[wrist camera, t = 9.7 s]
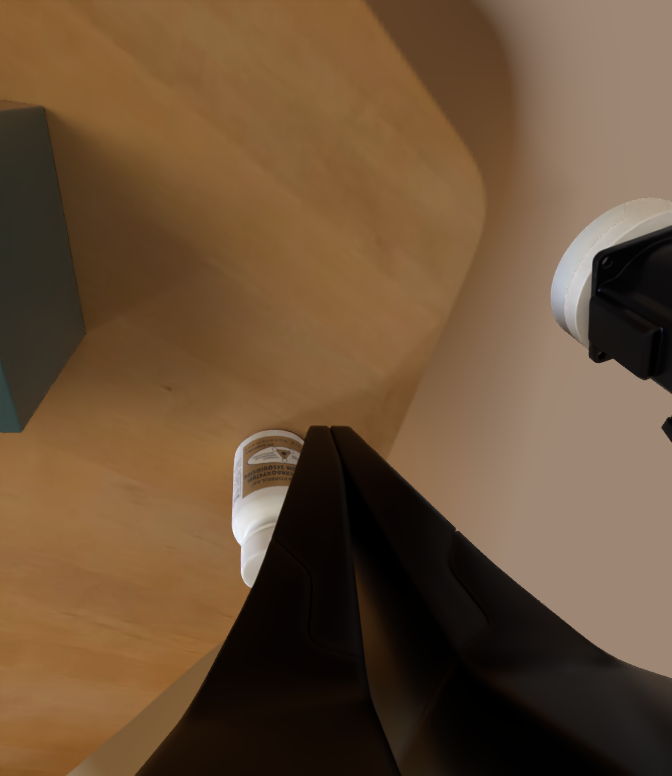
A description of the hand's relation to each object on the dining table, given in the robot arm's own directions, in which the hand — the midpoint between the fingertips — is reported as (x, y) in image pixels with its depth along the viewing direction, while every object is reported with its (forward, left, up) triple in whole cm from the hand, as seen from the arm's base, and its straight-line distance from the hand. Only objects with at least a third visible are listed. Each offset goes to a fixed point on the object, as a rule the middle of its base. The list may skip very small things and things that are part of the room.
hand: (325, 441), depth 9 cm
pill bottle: (+5, +11, -13) cm, 18 cm away
